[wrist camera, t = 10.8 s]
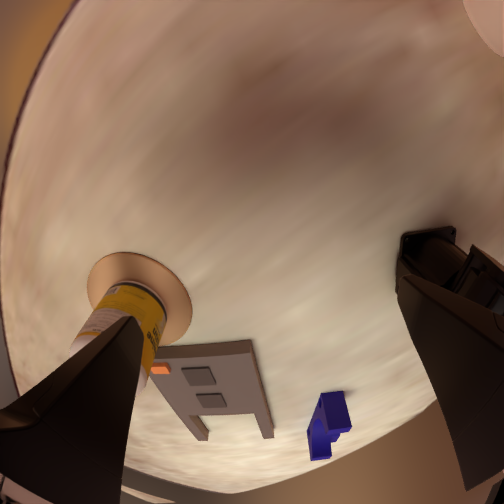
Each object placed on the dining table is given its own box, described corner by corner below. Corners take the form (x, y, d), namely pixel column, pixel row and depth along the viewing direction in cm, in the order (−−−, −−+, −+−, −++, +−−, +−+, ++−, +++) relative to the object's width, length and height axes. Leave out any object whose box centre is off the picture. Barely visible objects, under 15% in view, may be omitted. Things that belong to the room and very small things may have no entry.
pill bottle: (147, 340, 26) (114, 435, 16) (97, 303, 24) (44, 391, 14) (182, 308, 24) (152, 418, 14) (126, 263, 22) (61, 361, 12)
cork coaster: (171, 243, 22) (169, 245, 21) (205, 340, 27) (204, 343, 26) (72, 261, 22) (70, 263, 22) (116, 344, 27) (114, 347, 27)
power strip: (250, 339, 26) (250, 357, 24) (273, 428, 36) (274, 441, 34) (143, 347, 27) (137, 363, 25) (199, 431, 37) (197, 443, 35)
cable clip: (332, 427, 37) (338, 457, 32) (306, 430, 37) (310, 460, 32) (352, 388, 32) (363, 424, 26) (320, 392, 32) (328, 430, 26)
